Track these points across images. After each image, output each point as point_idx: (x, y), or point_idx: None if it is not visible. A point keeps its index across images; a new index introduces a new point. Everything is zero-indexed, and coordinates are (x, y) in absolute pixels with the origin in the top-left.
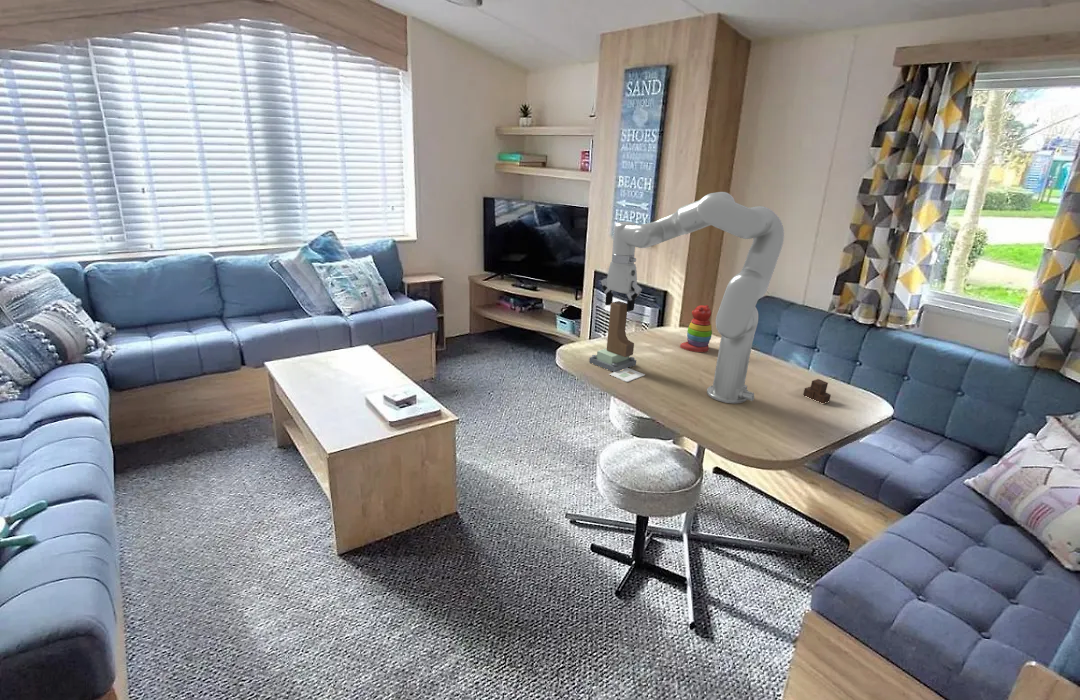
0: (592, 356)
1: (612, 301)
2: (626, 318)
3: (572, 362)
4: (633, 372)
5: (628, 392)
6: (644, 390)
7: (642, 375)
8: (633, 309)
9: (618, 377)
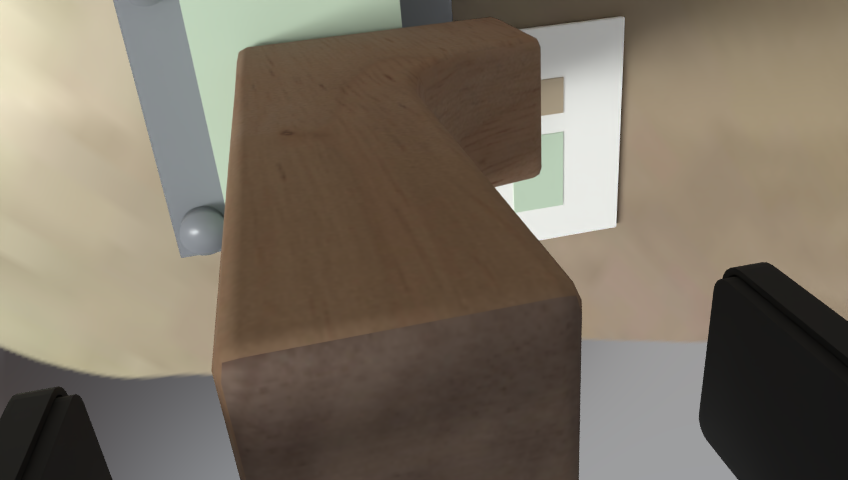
0: (204, 254)
1: (57, 435)
2: (464, 151)
3: (123, 345)
4: (543, 71)
5: (704, 307)
6: (754, 208)
7: (622, 50)
8: (764, 269)
9: (539, 234)
